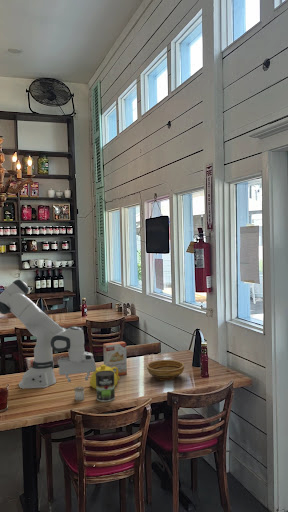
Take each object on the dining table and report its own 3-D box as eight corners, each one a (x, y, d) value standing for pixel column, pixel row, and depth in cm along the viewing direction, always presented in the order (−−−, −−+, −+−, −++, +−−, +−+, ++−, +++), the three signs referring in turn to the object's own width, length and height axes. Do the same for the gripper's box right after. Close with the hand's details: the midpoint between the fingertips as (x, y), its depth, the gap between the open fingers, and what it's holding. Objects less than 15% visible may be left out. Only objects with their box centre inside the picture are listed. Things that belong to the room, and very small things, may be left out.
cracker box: (107, 378, 276) (106, 345, 275) (103, 375, 281) (102, 343, 280) (127, 374, 282) (126, 342, 281) (123, 372, 287) (122, 340, 286)
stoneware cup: (75, 401, 238) (74, 390, 237) (74, 397, 243) (73, 387, 243) (85, 400, 239) (84, 389, 239) (83, 396, 244) (83, 386, 244)
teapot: (85, 385, 264) (85, 364, 264) (113, 379, 273) (113, 359, 273) (99, 394, 247) (98, 372, 246) (128, 388, 256) (127, 366, 256)
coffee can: (116, 400, 236) (115, 375, 236) (97, 402, 235) (96, 376, 234) (114, 394, 246) (113, 369, 246) (95, 395, 245) (95, 371, 244)
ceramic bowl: (194, 381, 264) (194, 368, 264) (158, 387, 255) (157, 374, 255) (172, 368, 292) (172, 356, 291) (139, 374, 282) (138, 361, 282)
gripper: (57, 359, 234) (59, 384, 235) (95, 355, 239) (96, 380, 239) (57, 356, 240) (58, 381, 241) (94, 353, 245) (95, 377, 245)
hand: (78, 381), depth 240 cm, fingers open, 8 cm apart
